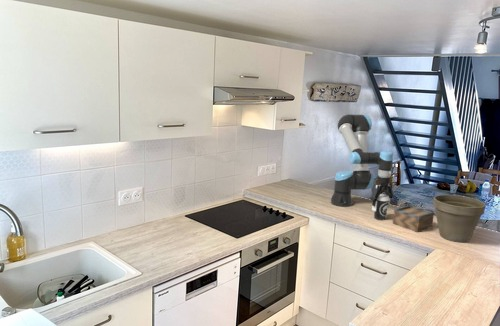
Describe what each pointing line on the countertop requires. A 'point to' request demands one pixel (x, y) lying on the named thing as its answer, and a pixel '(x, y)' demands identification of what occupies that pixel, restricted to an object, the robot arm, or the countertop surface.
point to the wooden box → (413, 218)
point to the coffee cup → (381, 207)
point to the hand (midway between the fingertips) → (380, 209)
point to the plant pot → (457, 216)
